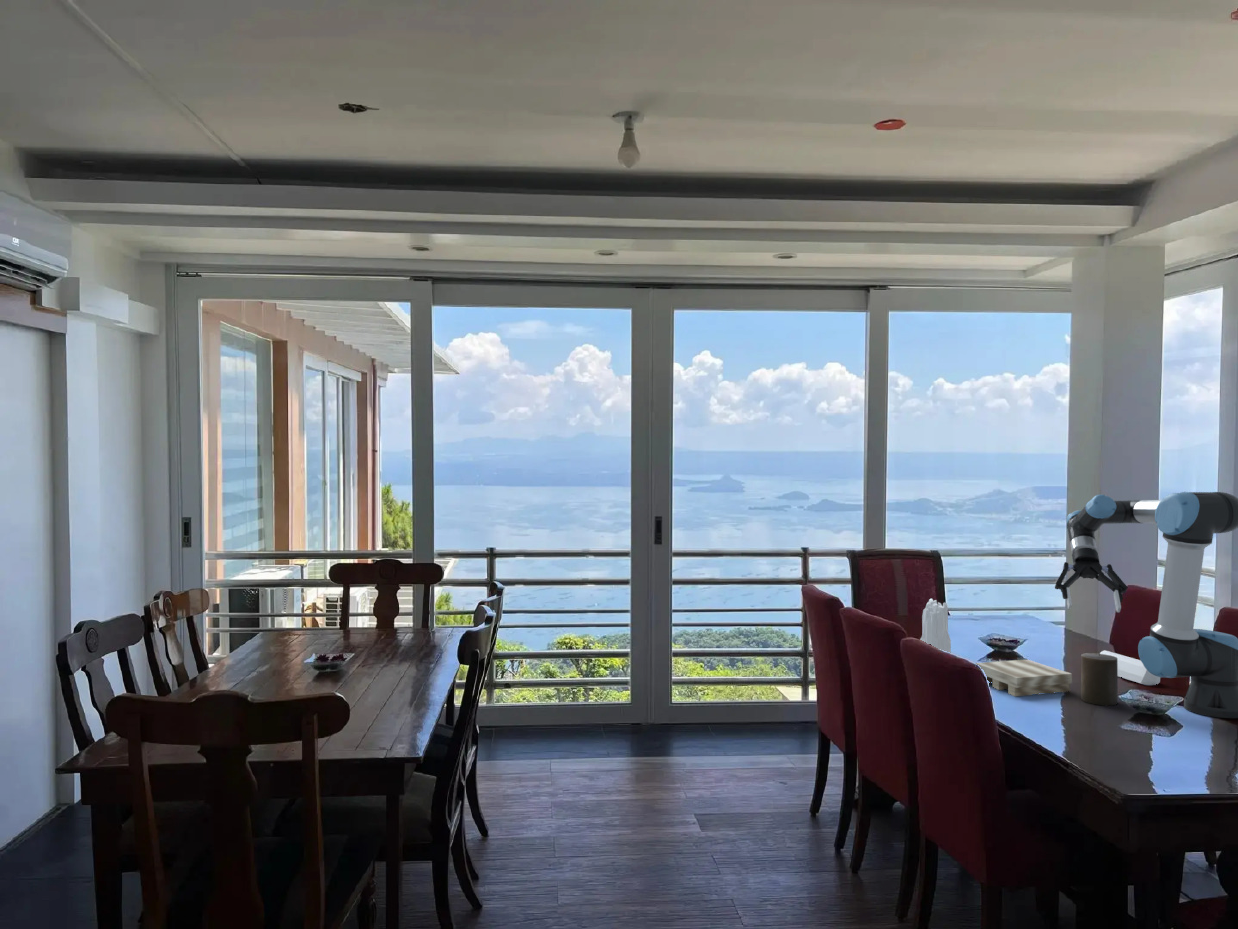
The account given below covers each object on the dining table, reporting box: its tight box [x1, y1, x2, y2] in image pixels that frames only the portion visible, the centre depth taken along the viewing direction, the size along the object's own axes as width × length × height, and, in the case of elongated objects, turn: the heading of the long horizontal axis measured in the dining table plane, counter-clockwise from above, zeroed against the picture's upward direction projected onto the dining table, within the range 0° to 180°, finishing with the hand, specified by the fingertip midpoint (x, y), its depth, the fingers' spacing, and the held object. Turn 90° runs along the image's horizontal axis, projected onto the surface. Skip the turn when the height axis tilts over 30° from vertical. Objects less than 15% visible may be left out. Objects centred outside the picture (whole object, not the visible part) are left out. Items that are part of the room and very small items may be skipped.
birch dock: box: [975, 659, 1073, 697], centre depth 270 cm, size 20×20×6 cm
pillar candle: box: [1080, 652, 1119, 706], centre depth 253 cm, size 10×10×15 cm
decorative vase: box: [919, 598, 952, 654], centre depth 291 cm, size 11×11×25 cm
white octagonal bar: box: [1099, 650, 1162, 686], centre depth 281 cm, size 7×7×24 cm
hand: (1094, 608), depth 260 cm, fingers open, 13 cm apart
